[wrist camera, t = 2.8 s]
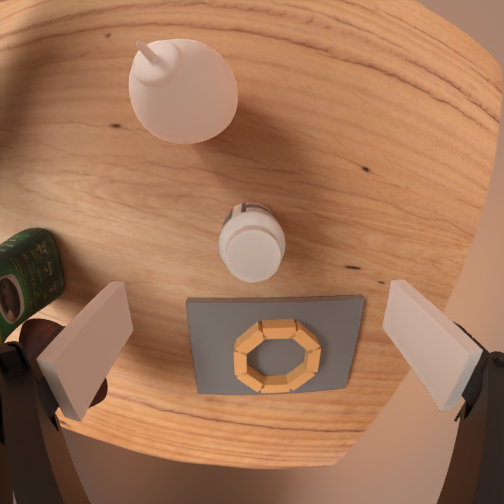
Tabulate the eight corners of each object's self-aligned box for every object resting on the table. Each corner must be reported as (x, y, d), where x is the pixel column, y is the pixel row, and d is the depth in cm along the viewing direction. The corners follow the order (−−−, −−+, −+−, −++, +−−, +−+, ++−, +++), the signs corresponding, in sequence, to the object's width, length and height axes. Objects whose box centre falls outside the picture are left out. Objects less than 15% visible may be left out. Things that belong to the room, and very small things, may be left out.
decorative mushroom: (83, 350, 34) (33, 421, 20) (55, 279, 31) (-17, 338, 17) (149, 350, 34) (111, 439, 20) (124, 271, 31) (55, 344, 16)
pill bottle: (243, 261, 31) (242, 305, 21) (213, 220, 29) (198, 247, 20) (286, 233, 30) (305, 266, 21) (257, 190, 28) (264, 203, 19)
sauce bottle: (246, 138, 27) (248, 97, 10) (170, 156, 27) (69, 153, 10) (231, 67, 25) (214, -41, 7) (156, 86, 25) (60, 15, 8)
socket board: (187, 297, 32) (182, 310, 29) (361, 294, 32) (370, 306, 29) (199, 387, 36) (196, 403, 33) (342, 382, 36) (348, 396, 34)
